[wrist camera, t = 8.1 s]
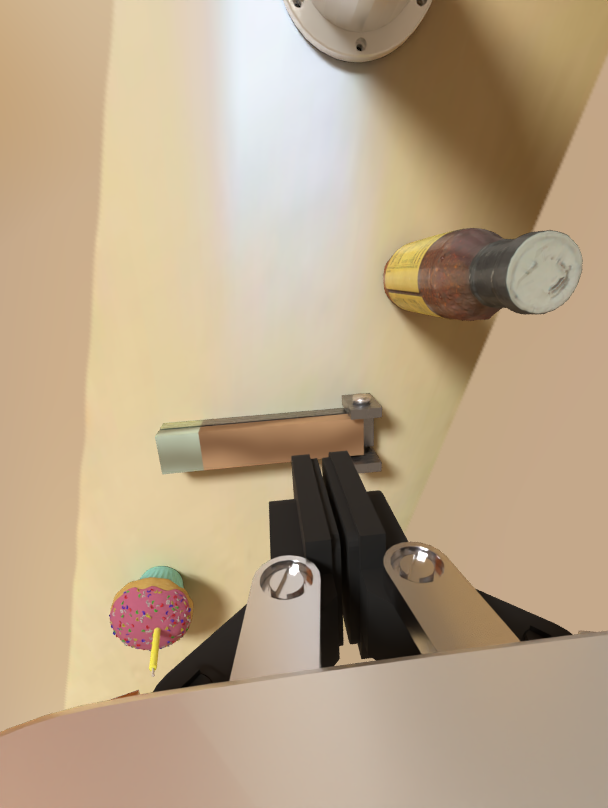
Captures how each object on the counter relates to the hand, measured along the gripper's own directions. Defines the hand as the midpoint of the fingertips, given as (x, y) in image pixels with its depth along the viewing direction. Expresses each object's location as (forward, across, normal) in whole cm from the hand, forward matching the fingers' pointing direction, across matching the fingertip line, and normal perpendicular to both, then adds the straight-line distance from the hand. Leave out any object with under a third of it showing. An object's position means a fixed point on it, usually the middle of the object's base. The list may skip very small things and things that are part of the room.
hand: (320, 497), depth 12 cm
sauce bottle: (+29, -13, -5) cm, 32 cm away
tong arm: (+27, +3, +10) cm, 29 cm away
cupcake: (+29, +16, +28) cm, 44 cm away
